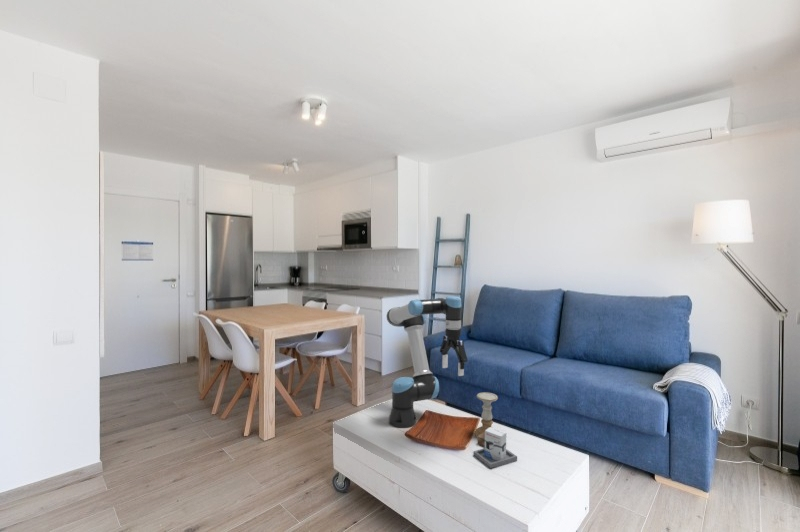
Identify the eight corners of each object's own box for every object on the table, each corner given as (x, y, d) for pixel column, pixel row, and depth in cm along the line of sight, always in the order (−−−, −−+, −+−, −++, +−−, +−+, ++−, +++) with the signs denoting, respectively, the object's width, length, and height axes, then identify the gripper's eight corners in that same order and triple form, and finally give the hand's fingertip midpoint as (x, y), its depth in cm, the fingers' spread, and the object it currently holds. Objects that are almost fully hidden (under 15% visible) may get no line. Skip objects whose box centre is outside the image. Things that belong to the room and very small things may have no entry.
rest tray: (473, 455, 170) (473, 451, 170) (498, 448, 177) (498, 444, 177) (490, 469, 159) (490, 464, 159) (517, 460, 166) (517, 456, 166)
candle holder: (501, 432, 192) (502, 394, 192) (496, 443, 182) (496, 402, 181) (478, 427, 198) (478, 390, 198) (471, 437, 187) (472, 397, 187)
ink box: (483, 455, 169) (484, 430, 169) (489, 451, 172) (489, 426, 172) (501, 462, 163) (501, 436, 163) (506, 458, 167) (506, 432, 166)
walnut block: (477, 444, 180) (477, 436, 180) (482, 440, 184) (482, 432, 184) (487, 448, 177) (487, 440, 177) (491, 444, 181) (491, 436, 181)
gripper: (433, 324, 191) (432, 365, 191) (462, 333, 168) (461, 380, 169) (445, 323, 194) (445, 363, 195) (475, 332, 172) (474, 378, 172)
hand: (452, 371), depth 182 cm, fingers open, 13 cm apart
